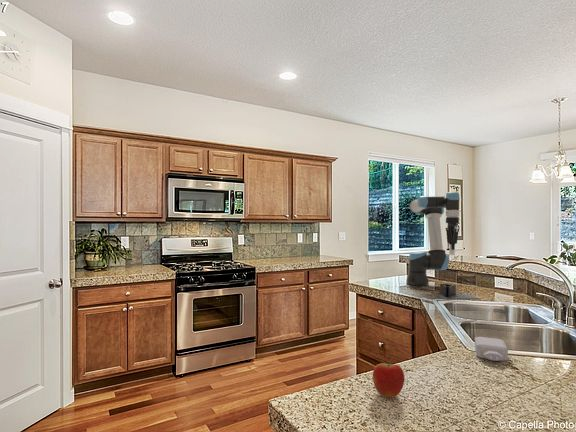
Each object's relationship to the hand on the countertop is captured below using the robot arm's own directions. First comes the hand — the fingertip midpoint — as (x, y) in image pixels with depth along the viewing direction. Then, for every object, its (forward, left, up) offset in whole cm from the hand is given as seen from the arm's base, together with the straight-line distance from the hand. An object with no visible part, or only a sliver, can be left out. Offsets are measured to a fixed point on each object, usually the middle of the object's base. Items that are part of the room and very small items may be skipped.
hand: (451, 254), depth 231 cm
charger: (+103, -39, -25) cm, 113 cm away
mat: (+8, -1, -25) cm, 26 cm away
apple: (+129, -83, -25) cm, 155 cm away
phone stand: (0, -2, -21) cm, 22 cm away
